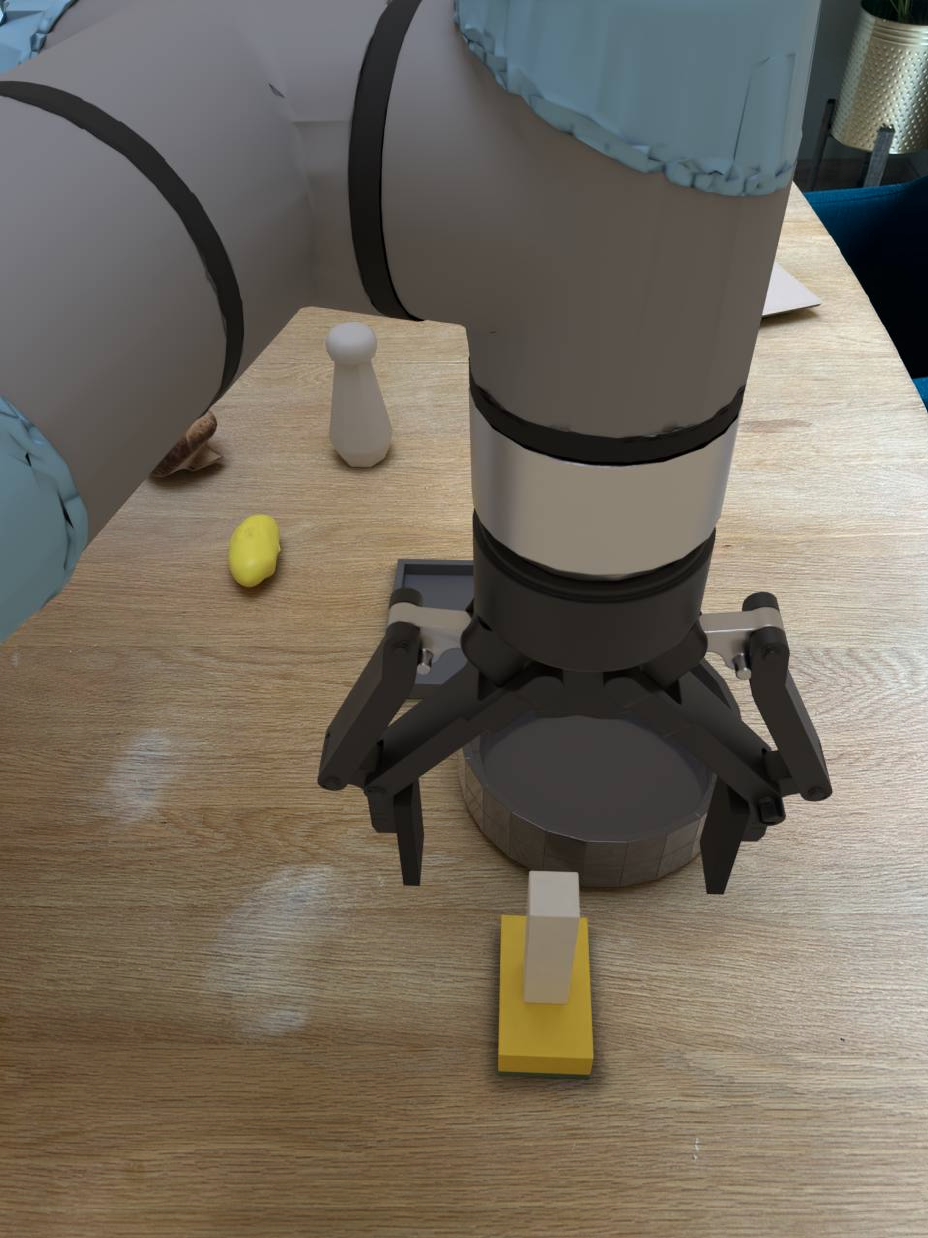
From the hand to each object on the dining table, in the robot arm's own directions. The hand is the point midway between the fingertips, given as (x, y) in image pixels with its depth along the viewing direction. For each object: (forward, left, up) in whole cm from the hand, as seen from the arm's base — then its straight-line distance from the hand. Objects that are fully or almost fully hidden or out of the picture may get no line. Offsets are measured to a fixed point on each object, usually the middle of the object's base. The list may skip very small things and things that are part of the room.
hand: (561, 864), depth 46 cm
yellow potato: (-42, +9, -16) cm, 46 cm away
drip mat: (-25, +16, -16) cm, 34 cm away
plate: (-45, +72, -16) cm, 86 cm away
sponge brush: (0, 0, -16) cm, 16 cm away
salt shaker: (-48, +25, -16) cm, 57 cm away
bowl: (-9, +14, -16) cm, 23 cm away
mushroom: (-58, +12, -16) cm, 61 cm away
